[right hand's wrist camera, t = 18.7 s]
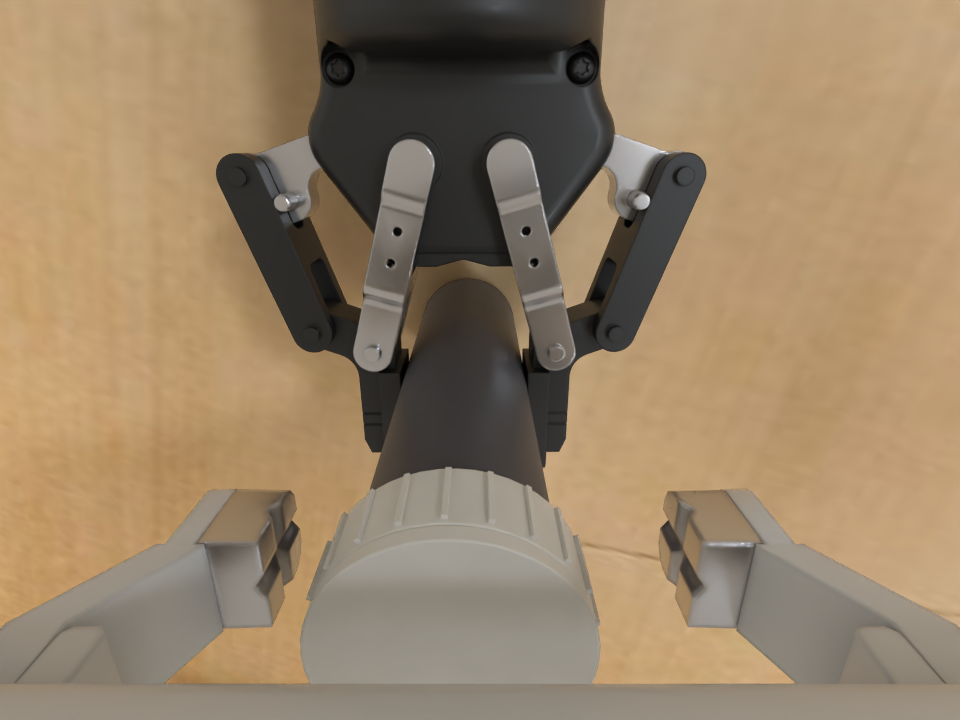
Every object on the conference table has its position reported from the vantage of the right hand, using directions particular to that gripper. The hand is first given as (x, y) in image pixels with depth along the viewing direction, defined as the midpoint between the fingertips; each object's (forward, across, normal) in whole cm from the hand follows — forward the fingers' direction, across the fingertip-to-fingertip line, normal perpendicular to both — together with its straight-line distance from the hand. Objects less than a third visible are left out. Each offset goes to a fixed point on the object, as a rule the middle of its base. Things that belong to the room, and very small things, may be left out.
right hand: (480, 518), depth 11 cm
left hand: (+8, 0, -3) cm, 9 cm away
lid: (-2, 0, -1) cm, 2 cm away
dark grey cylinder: (+15, 0, -1) cm, 15 cm away
